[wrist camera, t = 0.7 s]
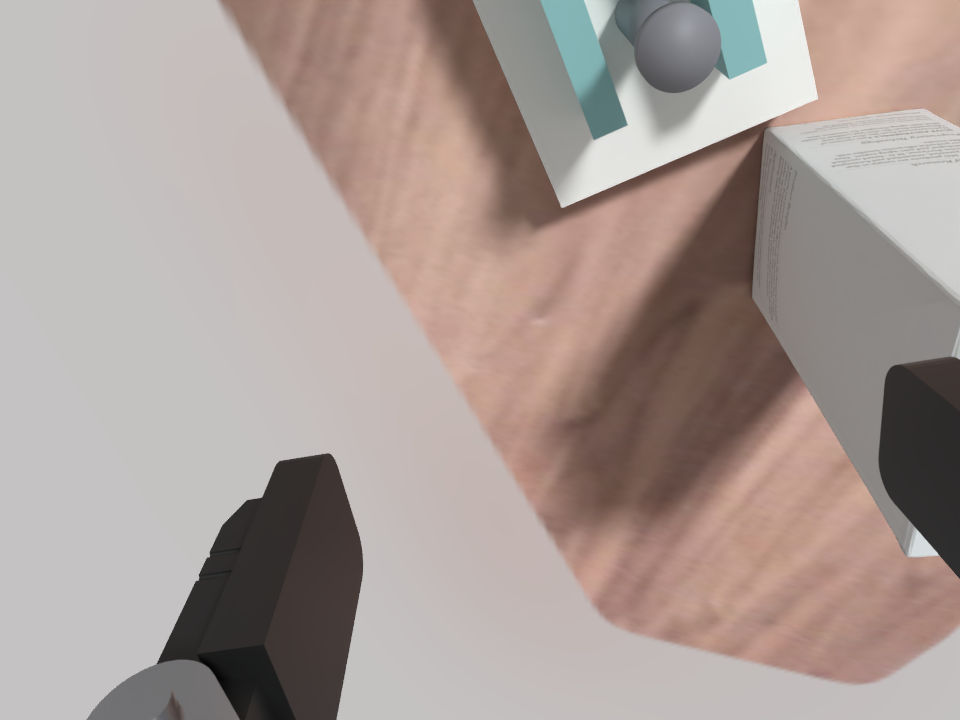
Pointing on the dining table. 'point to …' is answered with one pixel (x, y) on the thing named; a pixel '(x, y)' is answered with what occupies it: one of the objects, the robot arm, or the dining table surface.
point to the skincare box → (861, 267)
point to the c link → (590, 72)
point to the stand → (644, 84)
